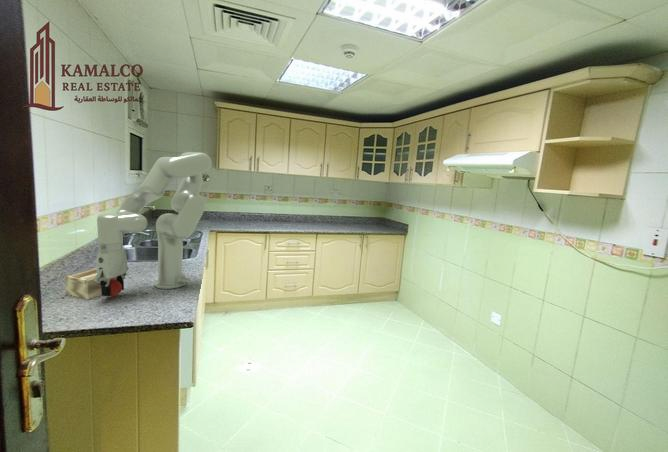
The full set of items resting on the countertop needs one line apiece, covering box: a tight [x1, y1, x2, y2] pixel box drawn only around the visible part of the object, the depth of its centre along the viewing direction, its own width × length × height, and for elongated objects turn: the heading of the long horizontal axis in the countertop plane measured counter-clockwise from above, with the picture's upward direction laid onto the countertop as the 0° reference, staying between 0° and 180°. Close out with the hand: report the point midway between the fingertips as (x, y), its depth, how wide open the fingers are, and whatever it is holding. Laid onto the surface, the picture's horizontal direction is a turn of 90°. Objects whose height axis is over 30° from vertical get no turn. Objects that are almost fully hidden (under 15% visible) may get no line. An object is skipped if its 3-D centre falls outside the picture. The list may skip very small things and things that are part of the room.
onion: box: [109, 278, 123, 298], centre depth 120 cm, size 6×6×8 cm
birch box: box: [64, 267, 116, 300], centre depth 125 cm, size 11×13×8 cm
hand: (113, 292), depth 121 cm, fingers closed on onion, 5 cm apart
